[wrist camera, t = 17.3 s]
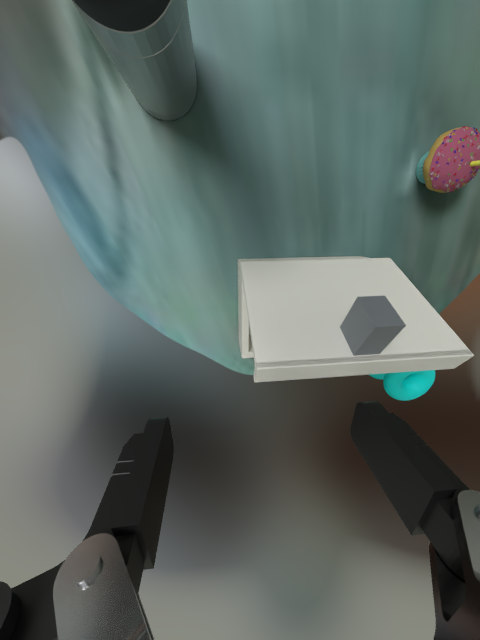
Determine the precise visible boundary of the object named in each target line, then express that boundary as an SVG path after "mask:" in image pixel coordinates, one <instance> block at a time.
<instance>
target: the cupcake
mask: <svg viewBox="0 0 480 640" xmlns="http://www.w3.org/2000/svg"><path fill="white" fill-rule="evenodd" d="M479 169H480V133H479V132H478V131H477V129H475V128H471V127H468V126H463V127H461V128H455V129H452V130H450V131H448V132H445V133H444V134H442V135H441V136H440V137H439V138H438V139H437V140H436V141H435V142H434V144H433V146H432V147H431V149H430V151H429V152H427V153H426V154H425V155H424V156H423V157H422V158H421V159H420V161H419V162H418V165H417V168H416V176H417V179H418V180H419V181H420V182H421V183H424V184H426V187H427V188H428V189H429V190H432V191H435V192H440V193H446V192H452V191H455V190H457V189H459V188H461V187H462V186H463V187H464V186H465V184H467V183H468V182H470V180H471V179H472V178H473V179H474V175H475V176H476V174H477V171H478V170H479Z"/></svg>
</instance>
